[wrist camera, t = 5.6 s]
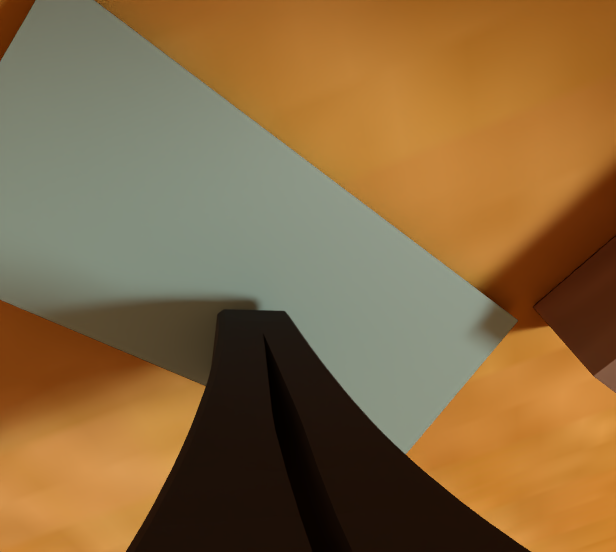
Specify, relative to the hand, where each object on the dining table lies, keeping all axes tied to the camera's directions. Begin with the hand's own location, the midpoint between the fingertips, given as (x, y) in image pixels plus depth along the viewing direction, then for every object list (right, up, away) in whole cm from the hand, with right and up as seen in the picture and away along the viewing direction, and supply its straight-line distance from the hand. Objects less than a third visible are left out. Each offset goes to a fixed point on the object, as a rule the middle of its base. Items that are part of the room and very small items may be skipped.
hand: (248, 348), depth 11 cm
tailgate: (+2, +3, 0) cm, 4 cm away
